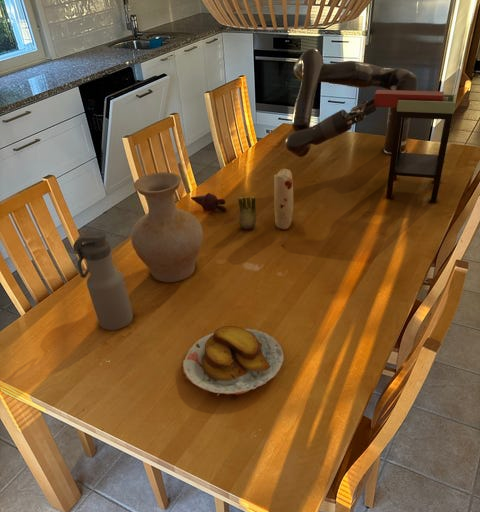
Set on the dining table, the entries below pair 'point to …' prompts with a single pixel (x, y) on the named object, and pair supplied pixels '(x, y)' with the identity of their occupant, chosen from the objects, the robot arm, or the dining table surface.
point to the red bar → (405, 97)
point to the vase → (165, 230)
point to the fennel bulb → (247, 213)
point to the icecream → (210, 202)
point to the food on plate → (233, 360)
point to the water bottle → (103, 281)
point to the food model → (283, 198)
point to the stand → (417, 162)
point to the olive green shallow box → (428, 105)
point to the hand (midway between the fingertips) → (377, 103)
